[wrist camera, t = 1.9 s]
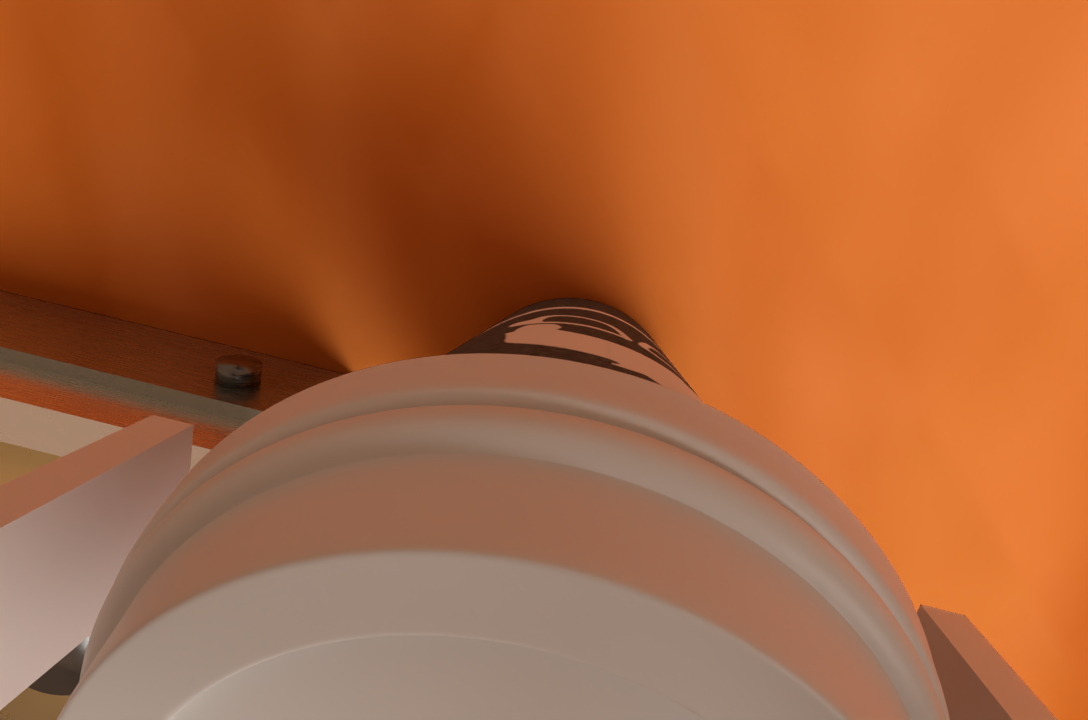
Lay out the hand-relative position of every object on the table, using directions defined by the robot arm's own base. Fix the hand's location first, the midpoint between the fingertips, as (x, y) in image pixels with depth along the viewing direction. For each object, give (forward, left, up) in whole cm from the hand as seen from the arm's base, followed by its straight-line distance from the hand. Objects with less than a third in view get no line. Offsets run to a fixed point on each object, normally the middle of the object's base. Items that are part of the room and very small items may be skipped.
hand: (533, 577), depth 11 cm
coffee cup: (0, 0, -9) cm, 9 cm away
